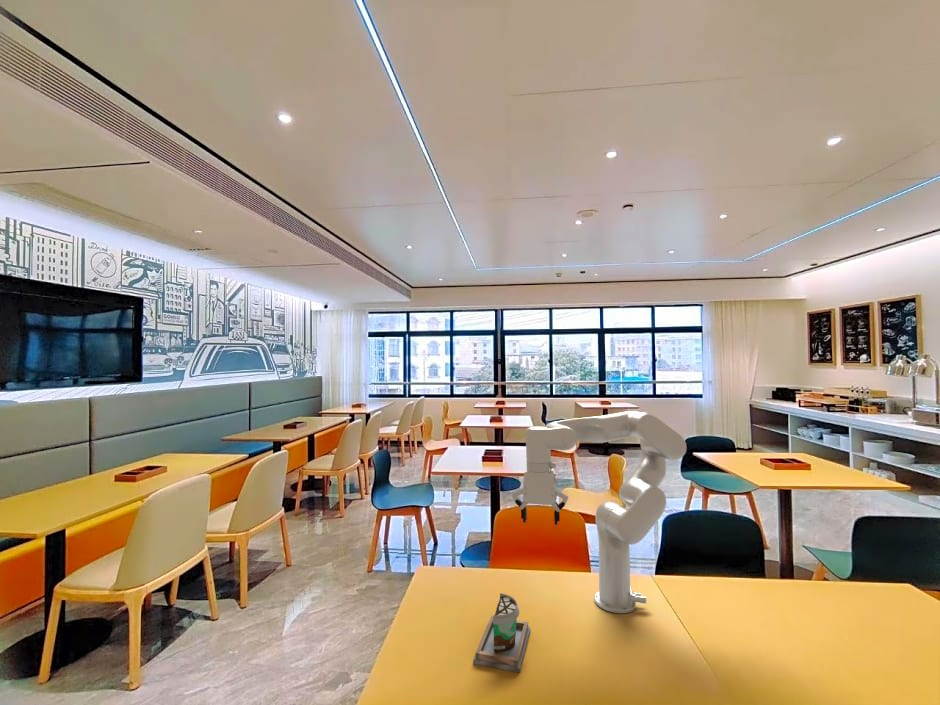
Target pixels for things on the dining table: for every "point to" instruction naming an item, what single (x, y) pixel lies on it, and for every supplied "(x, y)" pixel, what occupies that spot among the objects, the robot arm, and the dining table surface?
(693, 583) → the dining table surface
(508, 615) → the food container
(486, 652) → the board
